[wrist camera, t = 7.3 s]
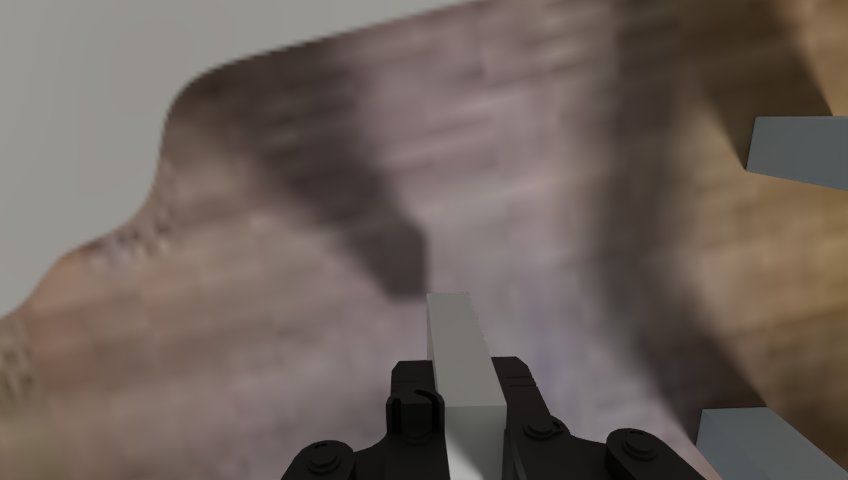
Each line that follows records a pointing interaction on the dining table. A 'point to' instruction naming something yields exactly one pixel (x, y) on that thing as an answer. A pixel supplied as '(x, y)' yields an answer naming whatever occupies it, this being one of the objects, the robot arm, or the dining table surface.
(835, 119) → the bridge
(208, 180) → the dining table surface
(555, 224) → the dining table surface
